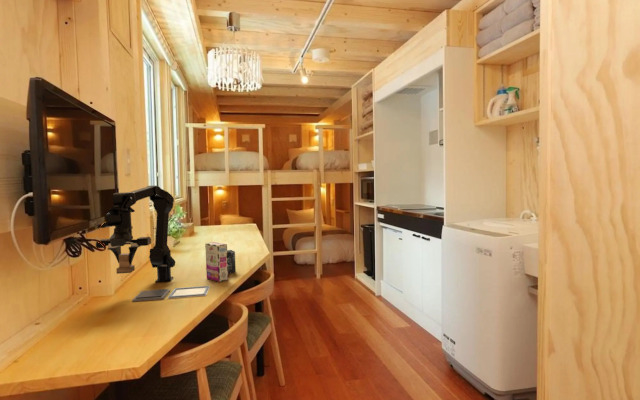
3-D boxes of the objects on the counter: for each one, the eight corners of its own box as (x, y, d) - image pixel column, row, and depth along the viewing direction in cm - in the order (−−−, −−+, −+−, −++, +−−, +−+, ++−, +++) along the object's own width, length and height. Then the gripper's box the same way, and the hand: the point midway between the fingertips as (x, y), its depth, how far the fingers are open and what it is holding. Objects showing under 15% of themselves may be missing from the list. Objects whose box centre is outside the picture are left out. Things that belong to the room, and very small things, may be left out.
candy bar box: (229, 280, 164) (227, 243, 163) (219, 282, 160) (217, 245, 159) (215, 276, 171) (214, 241, 171) (206, 278, 168) (204, 243, 167)
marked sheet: (174, 289, 151) (174, 288, 151) (210, 286, 154) (210, 285, 154) (167, 298, 139) (167, 297, 139) (206, 295, 142) (206, 294, 142)
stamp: (121, 270, 146) (120, 253, 145) (134, 269, 147) (133, 252, 146) (116, 273, 141) (115, 255, 141) (130, 272, 142) (129, 254, 141)
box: (220, 275, 173) (219, 253, 172) (216, 273, 177) (215, 251, 177) (236, 272, 177) (235, 251, 176) (232, 270, 182) (231, 249, 181)
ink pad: (141, 293, 148) (141, 290, 148) (170, 290, 150) (169, 288, 149) (132, 301, 137) (132, 298, 137) (163, 299, 139) (163, 296, 139)
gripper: (87, 228, 133) (90, 270, 134) (142, 225, 137) (144, 267, 137) (100, 224, 144) (103, 263, 145) (150, 222, 148) (152, 260, 148)
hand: (125, 264), depth 144 cm, fingers closed on stamp, 3 cm apart
